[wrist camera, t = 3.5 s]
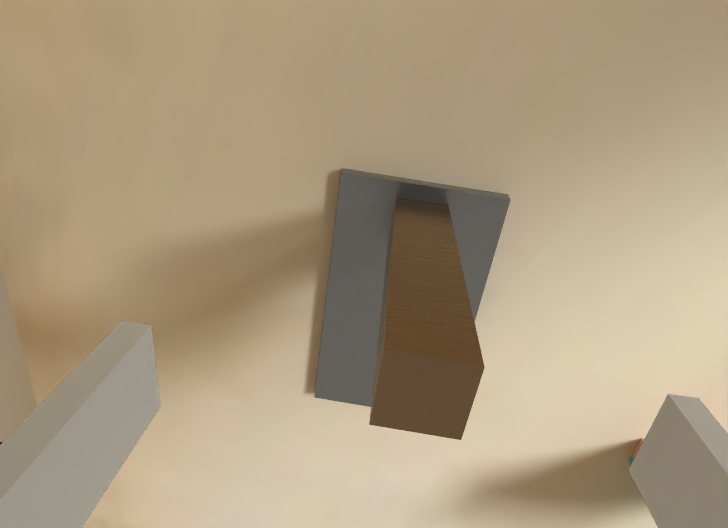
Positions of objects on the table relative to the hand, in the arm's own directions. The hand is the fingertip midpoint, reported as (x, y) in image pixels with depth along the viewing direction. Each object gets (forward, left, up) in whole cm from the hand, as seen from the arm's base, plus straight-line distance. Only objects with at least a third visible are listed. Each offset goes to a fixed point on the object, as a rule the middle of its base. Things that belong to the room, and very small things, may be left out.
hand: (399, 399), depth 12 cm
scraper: (+5, +1, -13) cm, 14 cm away
